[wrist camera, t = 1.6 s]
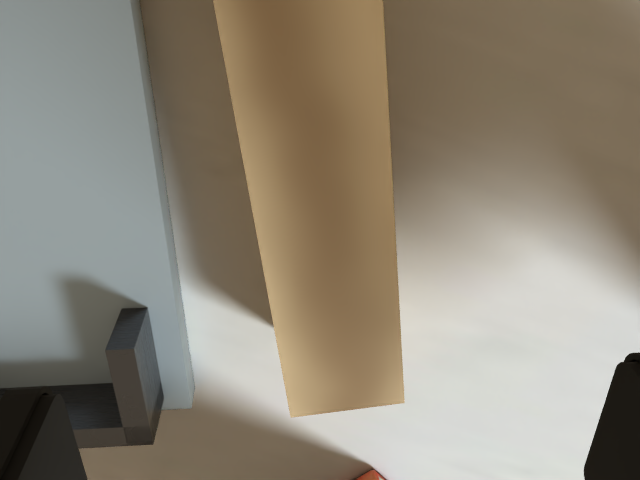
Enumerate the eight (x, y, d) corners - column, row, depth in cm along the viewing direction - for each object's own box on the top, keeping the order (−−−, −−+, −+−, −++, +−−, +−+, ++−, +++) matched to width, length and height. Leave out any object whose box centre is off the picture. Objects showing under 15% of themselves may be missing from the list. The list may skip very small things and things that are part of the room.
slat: (345, -195, 20) (370, -235, 15) (382, 319, 31) (404, 402, 25) (200, -176, 20) (173, -211, 15) (288, 332, 31) (290, 417, 25)
